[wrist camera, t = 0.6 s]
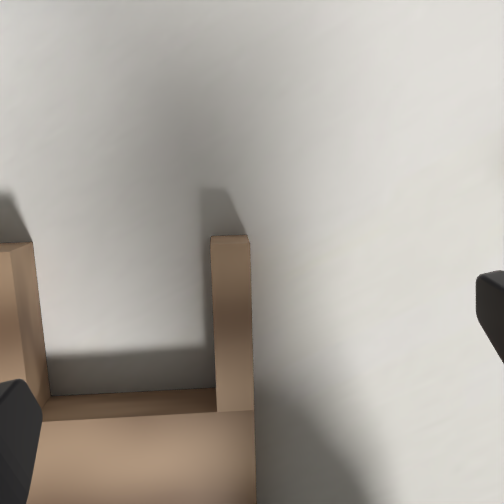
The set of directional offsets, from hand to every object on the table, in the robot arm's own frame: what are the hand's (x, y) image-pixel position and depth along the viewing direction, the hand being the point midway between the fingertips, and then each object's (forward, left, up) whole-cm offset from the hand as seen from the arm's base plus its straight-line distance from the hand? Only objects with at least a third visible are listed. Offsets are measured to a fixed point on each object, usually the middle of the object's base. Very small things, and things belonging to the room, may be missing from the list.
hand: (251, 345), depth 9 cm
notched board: (-10, +5, -14) cm, 18 cm away
